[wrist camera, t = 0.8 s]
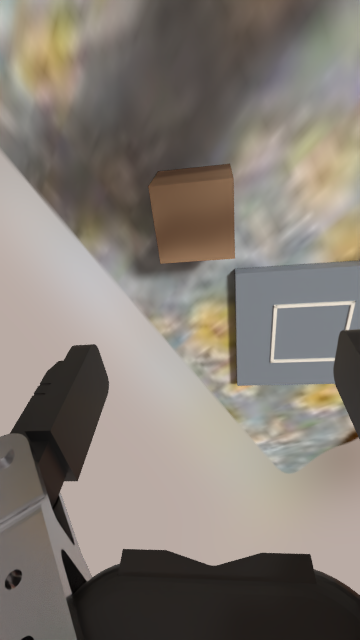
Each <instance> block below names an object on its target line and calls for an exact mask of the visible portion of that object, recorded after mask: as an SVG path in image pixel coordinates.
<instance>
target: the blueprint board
mask: <svg viewBox="0 0 360 640" xmlns="http://www.w3.org/2000/svg"><path fill="white" fill-rule="evenodd" d="M235 302H236V360H237V386H244V385H290V384H335V381H334V374H333V367H334V361H335V355H336V350H337V344H338V338H339V334H340V332H341V331H342V330H356V329H360V261H345V262H330V263H315V264H300V265H285V266H270V267H255V268H240V269H235Z"/></svg>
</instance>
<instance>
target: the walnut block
mask: <svg viewBox="0 0 360 640" xmlns="http://www.w3.org/2000/svg"><path fill="white" fill-rule="evenodd" d="M148 188H149V194H150V201H151V207H152V213H153V219H154V226H155V232H156V238H157V245H158V251H159V257H160V264H163V263H177V262H191V261H206V260H220V259H234V258H235V240H234V181H233V174H232V171H231V167H230V164H223V165H213V166H204V167H195V168H185V169H176V170H167V171H158V172H157V174H156V176H155V177H154V179H153V180H152V182H151V183H150V185H149V186H148Z"/></svg>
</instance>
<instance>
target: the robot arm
mask: <svg viewBox="0 0 360 640" xmlns="http://www.w3.org/2000/svg"><path fill="white" fill-rule="evenodd" d="M333 374H334V381H335V385H336V387H337V390H338V392H339V394H340V396H341V398H342V401H343V403H344V405H345V407H346V410H347V412H348V414H349V416H350V419H351V421H352V423H353V425H354V428H355V430H356V432H357V434H358V436H359V439H360V329H356V330H342V331H341V332H340V334H339V338H338V344H337V350H336V355H335V361H334V367H333ZM108 389H109V381H108V376H107V373H106V370H105V367H104V364H103V361H102V359H101V356H100V353H99V350H98V348H97V346H96V345H94V344H93V345H76V346H72V347H71V349H70V350H69V352H68V354H67V356H66V358H65V359H64V361H58V362H57V363H56V364H55V365H54V366H53V367H52V368H51V369H49V370H48V371H47V373H46V374H45V376H44V378H43V379H42V381H41V383H40V386H38V388H37V389H36V391H35V393H34V396H32V398H31V399H30V401H29V403H28V404H27V406H26V408H25V409H24V411H23V413H22V414H21V416H20V418H19V419H18V421H17V423H16V424H15V426H14V428H13V429H12V431H11V433H10V434H7V435H4V436H1V437H0V640H360V595H359V594H357V593H356V592H355V591H353V590H352V589H351V588H350V587H348V586H347V585H345V584H343V583H342V582H340V581H339V580H337V579H335V578H333V577H331V576H329V575H327V574H325V573H323V572H320V571H317V570H314V569H313V565H312V560H311V556H310V554H281V553H260V554H256V555H253V556H249V557H246V558H242V559H239V560H235V561H231V562H228V563H224V564H221V565H217V566H210V565H206V564H204V563H201V562H198V561H195V560H192V559H190V558H187V557H184V556H181V555H178V554H175V553H173V552H170V551H167V550H135V549H123V551H122V557H121V562H120V564H118V565H114V566H112V567H110V568H108V569H105V570H104V571H102V572H100V573H99V574H97V575H96V576H94V577H92V576H91V573H90V571H89V569H88V566H87V564H86V562H85V560H84V558H83V556H82V554H81V551H80V548H79V545H78V543H77V540H76V537H75V534H74V531H73V528H72V525H71V522H70V519H69V516H68V513H67V510H66V507H65V504H64V501H63V498H62V496H61V493H60V490H61V487H62V485H63V482H64V481H78V478H79V475H80V473H81V469H82V467H83V464H84V461H85V458H86V455H87V452H88V450H89V447H90V444H91V441H92V438H93V435H94V432H95V429H96V426H97V424H98V421H99V418H100V415H101V412H102V409H103V406H104V403H105V400H106V398H107V394H108Z"/></svg>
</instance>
